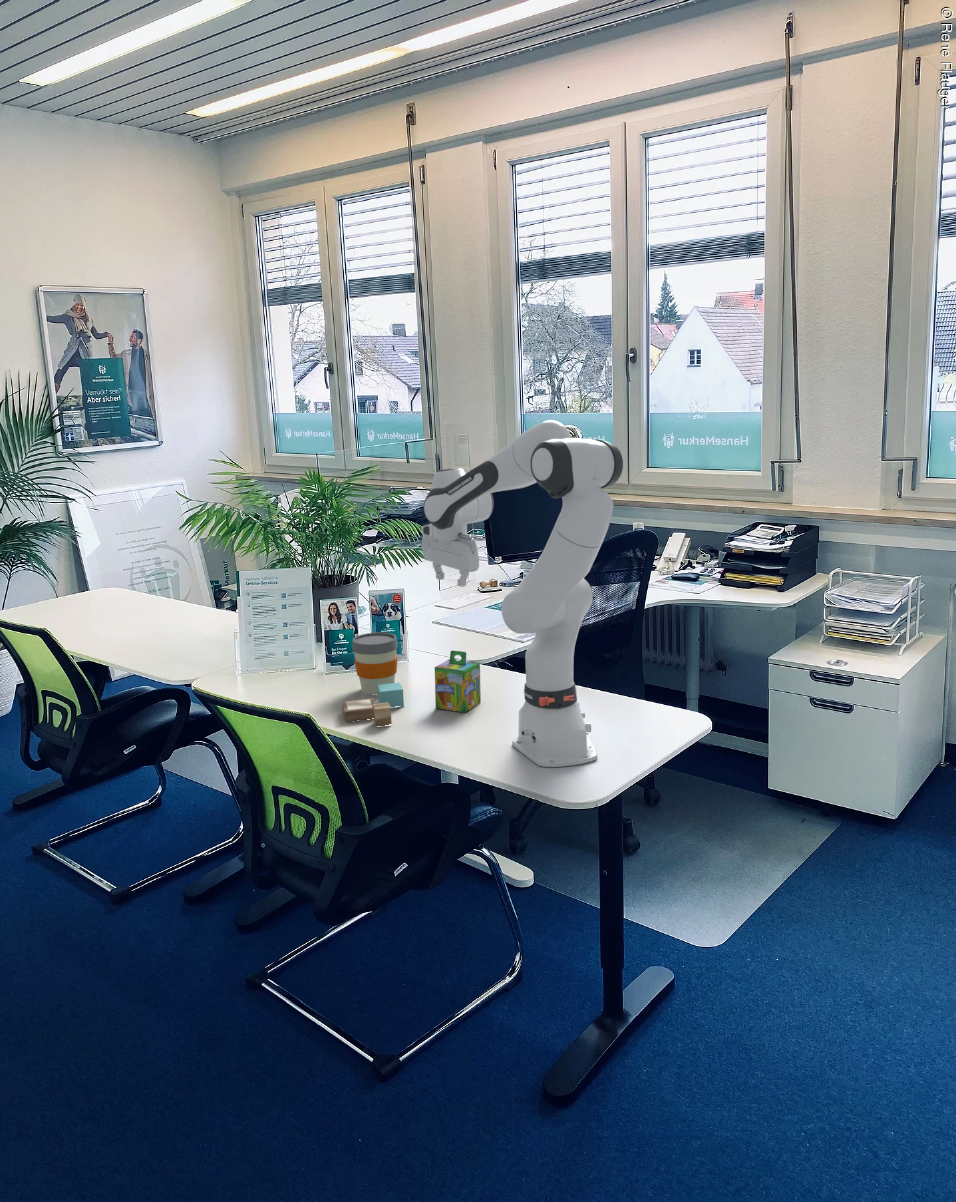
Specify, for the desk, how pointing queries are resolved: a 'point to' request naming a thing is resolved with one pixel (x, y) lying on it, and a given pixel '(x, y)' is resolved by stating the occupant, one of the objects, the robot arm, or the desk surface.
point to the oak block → (382, 714)
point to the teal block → (391, 694)
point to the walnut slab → (358, 709)
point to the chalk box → (457, 683)
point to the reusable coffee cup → (375, 660)
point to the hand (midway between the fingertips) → (450, 582)
